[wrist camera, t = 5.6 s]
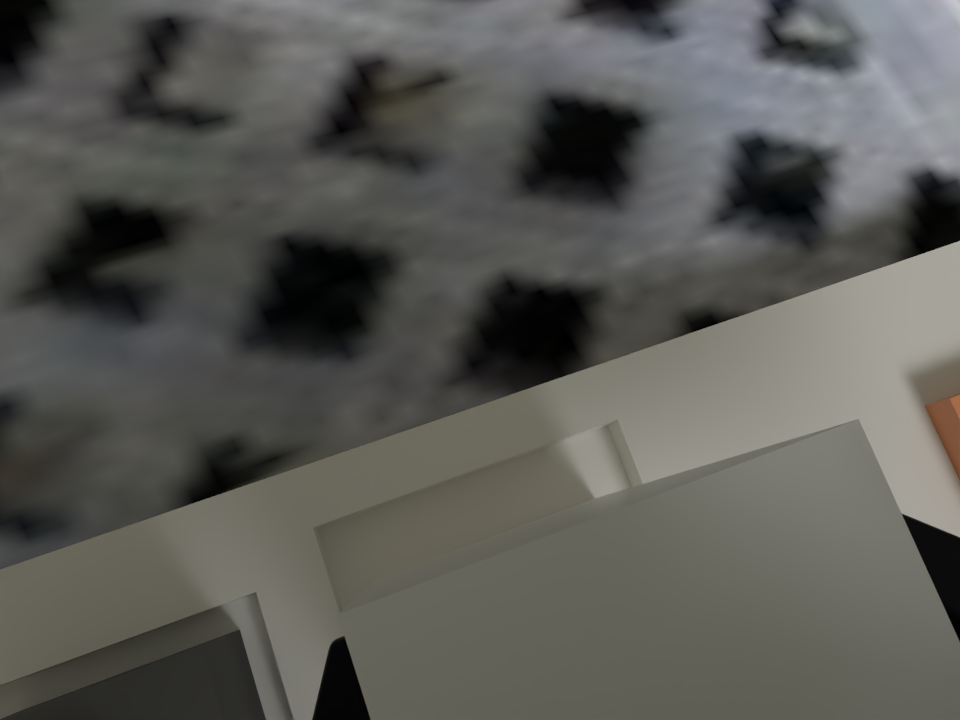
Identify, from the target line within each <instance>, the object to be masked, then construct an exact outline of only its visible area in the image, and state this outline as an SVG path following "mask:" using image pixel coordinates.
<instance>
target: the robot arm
mask: <svg viewBox="0 0 960 720" xmlns="http://www.w3.org/2000/svg"><path fill="white" fill-rule="evenodd" d="M902 516H903V518H904V520H905V522H906V524H907V527H908V529H909V531H910V533H911V536H912V538H913V540H914V542H915V544H916V547H917V549H918V551H919V553H920V555H921V558H922V560H923V562H924V564H925V566H926V569H927V571H928V573H929V575H930V577H931V580H932V582H933V584H934V586H935V588H936V591H937V593H938V595H939V597H940V599H941V602H942V604H943V606H944V608H945V610H946V613H947V615H948V617H949V619H950V621H951V624H952V626H953V628H954V630H955V632H956V635H957V637H958V639H959V641H960V537H958V536H956V535H953V534H951V533H948V532H946V531H944V530H941V529H939V528H936V527H934V526H931V525H929V524H926V523H924V522H922V521H919V520H917V519H914V518H912V517H909V516H907V515H904V514H902ZM312 720H371V719H370V716H369V713H368V709H367V706H366V703H365V700H364V697H363V693H362V690H361V687H360V684H359V681H358V677H357V674H356V671H355V668H354V665H353V662H352V658H351V655H350V652H349V649H348V646H347V642H346V639H345V636H342V637H339V638H337V639H335V640H334V641H333V642H332V643H331V645H330V647H329V650H328V654H327V658H326V663H325V667H324V671H323V675H322V680H321V684H320V688H319V692H318V697H317V701H316V705H315V709H314V714H313V718H312Z"/></svg>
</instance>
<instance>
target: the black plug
mask: <svg viewBox="0 0 960 720" xmlns="http://www.w3.org/2000/svg"><path fill="white" fill-rule="evenodd" d="M0 720H266V718H265V715H264V711H263V708H262V704H261V701H260V697H259V694H258V690H257V687H256V684H255V680H254V677H253V673H252V670H251V666H250V663H249V659H248V656H247V653H246V649H245V646H244V642H243V639H242V635H241V632H240V630H237V631H234V632H231V633H229V634H226V635H223V636H221V637H218V638H215V639H213V640H210V641H207V642H204V643H202V644H199V645H196V646H194V647H191V648H188V649H186V650H183V651H180V652H177V653H175V654H172V655H169V656H167V657H164V658H161V659H159V660H156V661H153V662H151V663H148V664H145V665H142V666H140V667H137V668H134V669H132V670H129V671H126V672H124V673H121V674H118V675H115V676H113V677H110V678H107V679H105V680H102V681H99V682H97V683H94V684H91V685H89V686H86V687H83V688H80V689H78V690H75V691H72V692H70V693H67V694H64V695H62V696H59V697H56V698H53V699H51V700H48V701H45V702H43V703H40V704H37V705H35V706H32V707H29V708H26V709H24V710H21V711H19V712H16V713H14V714H11V715H9V716H6V717H4V718H1V719H0Z"/></svg>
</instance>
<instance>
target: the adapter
mask: <svg viewBox="0 0 960 720" xmlns="http://www.w3.org/2000/svg"><path fill="white" fill-rule="evenodd" d="M338 617H339V620H340V623H341V627H342V630H343V633H344V636H345V639H346V642H347V646H348V649H349V652H350V655H351V658H352V662H353V665H354V668H355V671H356V674H357V677H358V681H359V684H360V687H361V690H362V693H363V697H364V700H365V703H366V706H367V709H368V713H369V716H370V719H371V720H960V641H959V639H958V637H957V635H956V632H955V630H954V628H953V626H952V624H951V621H950V619H949V617H948V615H947V613H946V610H945V608H944V606H943V604H942V602H941V599H940V597H939V595H938V593H937V591H936V588H935V586H934V584H933V582H932V580H931V577H930V575H929V573H928V571H927V569H926V566H925V564H924V562H923V560H922V558H921V555H920V553H919V551H918V549H917V547H916V544H915V542H914V540H913V538H912V536H911V533H910V531H909V529H908V527H907V524H906V522H905V520H904V518H903V516H902V513H901V511H900V509H899V507H898V505H897V502H896V500H895V498H894V496H893V494H892V491H891V489H890V487H889V485H888V483H887V480H886V478H885V476H884V474H883V472H882V469H881V467H880V465H879V463H878V461H877V458H876V456H875V454H874V452H873V450H872V447H871V445H870V443H869V441H868V439H867V436H866V434H865V432H864V430H863V428H862V425H861V423H860V421H859V419H857V420H854V421H851V422H847V423H844V424H841V425H837V426H834V427H831V428H827V429H824V430H821V431H817V432H814V433H811V434H807V435H804V436H801V437H797V438H794V439H791V440H787V441H784V442H781V443H777V444H774V445H771V446H767V447H764V448H761V449H757V450H754V451H751V452H747V453H744V454H741V455H737V456H734V457H731V458H727V459H724V460H721V461H717V462H714V463H711V464H707V465H704V466H701V467H697V468H694V469H691V470H687V471H684V472H681V473H677V474H674V475H671V476H667V477H664V478H661V479H657V480H654V481H651V482H647V483H644V484H641V485H637V486H634V487H631V488H627V489H624V490H621V491H617V492H614V493H611V494H607V495H604V496H601V497H597V498H594V499H592V500H589V501H586V502H583V503H581V504H578V505H575V506H573V507H570V508H567V509H565V510H562V511H559V512H556V513H554V514H551V515H548V516H546V517H543V518H540V519H538V520H535V521H532V522H530V523H527V524H524V525H521V526H519V527H516V528H513V529H511V530H508V531H505V532H503V533H500V534H497V535H494V536H492V537H489V538H486V539H484V540H481V541H478V542H476V543H473V544H470V545H468V546H465V547H462V548H459V549H457V550H454V551H451V552H449V553H446V554H443V555H441V556H438V557H435V558H432V559H430V560H427V561H424V562H422V563H419V564H416V565H414V566H411V567H408V568H405V569H403V570H400V571H397V572H395V573H392V574H389V575H387V576H384V577H381V578H379V579H377V580H376V581H375V582H373V583H372V584H371V585H370V586H369V587H368V588H367V589H366V590H365V591H363V592H362V593H361V594H360V595H359V596H358V597H357V598H356V599H354V600H353V601H352V602H351V603H350V604H349V605H348V606H347V607H346V608H344V609H343V610H342V611H341V612H340V613H339V614H338Z"/></svg>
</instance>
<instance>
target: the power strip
mask: <svg viewBox="0 0 960 720" xmlns="http://www.w3.org/2000/svg"><path fill="white" fill-rule="evenodd" d="M857 419H859V421H860V423H861V425H862V428H863V430H864V432H865V434H866V436H867V439H868V441H869V443H870V445H871V447H872V450H873V452H874V454H875V456H876V458H877V461H878V463H879V465H880V467H881V469H882V472H883V474H884V476H885V478H886V480H887V483H888V485H889V487H890V489H891V491H892V494H893V496H894V498H895V500H896V502H897V505H898V507H899V509H900V511H901V513H902V514H904V515H907V516H909V517H912V518H914V519H917V520H919V521H922V522H924V523H926V524H929V525H931V526H934V527H936V528H939V529H941V530H944V531H946V532H948V533H951V534H953V535H956V536H958V537H960V241H958V242H955V243H952V244H949V245H946V246H944V247H941V248H938V249H935V250H932V251H929V252H926V253H923V254H920V255H917V256H914V257H911V258H908V259H906V260H903V261H900V262H897V263H894V264H891V265H888V266H885V267H882V268H879V269H876V270H873V271H870V272H868V273H865V274H862V275H859V276H856V277H853V278H850V279H847V280H844V281H841V282H838V283H835V284H833V285H830V286H827V287H824V288H821V289H818V290H815V291H812V292H809V293H806V294H803V295H800V296H797V297H795V298H792V299H789V300H786V301H783V302H780V303H777V304H774V305H771V306H768V307H765V308H762V309H759V310H757V311H754V312H751V313H748V314H745V315H742V316H739V317H736V318H733V319H730V320H727V321H724V322H722V323H719V324H716V325H713V326H710V327H707V328H704V329H701V330H698V331H695V332H692V333H689V334H686V335H684V336H681V337H678V338H675V339H672V340H669V341H666V342H663V343H660V344H657V345H654V346H651V347H648V348H646V349H643V350H640V351H637V352H634V353H631V354H628V355H625V356H622V357H619V358H616V359H613V360H611V361H608V362H605V363H602V364H599V365H596V366H593V367H590V368H587V369H584V370H581V371H578V372H575V373H573V374H570V375H567V376H564V377H561V378H558V379H555V380H552V381H549V382H546V383H543V384H540V385H537V386H535V387H532V388H529V389H526V390H523V391H520V392H517V393H514V394H511V395H508V396H505V397H502V398H499V399H497V400H494V401H491V402H488V403H485V404H482V405H479V406H476V407H473V408H470V409H467V410H464V411H462V412H459V413H456V414H453V415H450V416H447V417H444V418H441V419H438V420H435V421H432V422H429V423H426V424H424V425H421V426H418V427H415V428H412V429H409V430H406V431H403V432H400V433H397V434H394V435H391V436H388V437H386V438H383V439H380V440H377V441H374V442H371V443H368V444H365V445H362V446H359V447H356V448H353V449H351V450H348V451H345V452H342V453H339V454H336V455H333V456H330V457H327V458H324V459H321V460H318V461H315V462H313V463H310V464H307V465H304V466H301V467H298V468H295V469H292V470H289V471H286V472H283V473H280V474H277V475H275V476H272V477H269V478H266V479H263V480H260V481H257V482H254V483H251V484H248V485H245V486H242V487H240V488H237V489H234V490H231V491H228V492H225V493H222V494H219V495H216V496H213V497H210V498H207V499H204V500H202V501H199V502H196V503H193V504H190V505H187V506H184V507H181V508H178V509H175V510H172V511H169V512H166V513H164V514H161V515H158V516H155V517H152V518H149V519H146V520H143V521H140V522H137V523H134V524H131V525H128V526H126V527H123V528H120V529H117V530H114V531H111V532H108V533H105V534H102V535H99V536H96V537H93V538H91V539H88V540H85V541H82V542H79V543H76V544H73V545H70V546H67V547H64V548H61V549H58V550H55V551H53V552H50V553H47V554H44V555H41V556H38V557H35V558H32V559H29V560H26V561H23V562H20V563H17V564H15V565H12V566H9V567H6V568H3V569H0V719H1V718H4V717H6V716H9V715H11V714H14V713H16V712H19V711H21V710H24V709H26V708H29V707H32V706H35V705H37V704H40V703H43V702H45V701H48V700H51V699H53V698H56V697H59V696H62V695H64V694H67V693H70V692H72V691H75V690H78V689H80V688H83V687H86V686H89V685H91V684H94V683H97V682H99V681H102V680H105V679H107V678H110V677H113V676H115V675H118V674H121V673H124V672H126V671H129V670H132V669H134V668H137V667H140V666H142V665H145V664H148V663H151V662H153V661H156V660H159V659H161V658H164V657H167V656H169V655H172V654H175V653H177V652H180V651H183V650H186V649H188V648H191V647H194V646H196V645H199V644H202V643H204V642H207V641H210V640H213V639H215V638H218V637H221V636H223V635H226V634H229V633H231V632H234V631H237V630H240V632H241V635H242V639H243V642H244V646H245V649H246V653H247V656H248V659H249V663H250V666H251V670H252V673H253V677H254V680H255V684H256V687H257V690H258V694H259V697H260V701H261V704H262V708H263V711H264V715H265V718H266V720H312V718H313V714H314V709H315V705H316V701H317V697H318V692H319V688H320V684H321V680H322V675H323V671H324V667H325V663H326V658H327V654H328V650H329V647H330V645H331V643H332V642H333V641H334V640H335V639H337V638H339V637H342V636H344V633H343V630H342V627H341V623H340V620H339V617H338V614H339V613H340V612H341V611H342V610H343V609H344V608H346V607H347V606H348V605H349V604H350V603H351V602H352V601H353V600H354V599H356V598H357V597H358V596H359V595H360V594H361V593H362V592H363V591H365V590H366V589H367V588H368V587H369V586H370V585H371V584H372V583H373V582H375V581H376V580H377V579H379V578H381V577H384V576H387V575H389V574H392V573H395V572H397V571H400V570H403V569H405V568H408V567H411V566H414V565H416V564H419V563H422V562H424V561H427V560H430V559H432V558H435V557H438V556H441V555H443V554H446V553H449V552H451V551H454V550H457V549H459V548H462V547H465V546H468V545H470V544H473V543H476V542H478V541H481V540H484V539H486V538H489V537H492V536H494V535H497V534H500V533H503V532H505V531H508V530H511V529H513V528H516V527H519V526H521V525H524V524H527V523H530V522H532V521H535V520H538V519H540V518H543V517H546V516H548V515H551V514H554V513H556V512H559V511H562V510H565V509H567V508H570V507H573V506H575V505H578V504H581V503H583V502H586V501H589V500H592V499H594V498H597V497H601V496H604V495H607V494H611V493H614V492H617V491H621V490H624V489H627V488H631V487H634V486H637V485H641V484H644V483H647V482H651V481H654V480H657V479H661V478H664V477H667V476H671V475H674V474H677V473H681V472H684V471H687V470H691V469H694V468H697V467H701V466H704V465H707V464H711V463H714V462H717V461H721V460H724V459H727V458H731V457H734V456H737V455H741V454H744V453H747V452H751V451H754V450H757V449H761V448H764V447H767V446H771V445H774V444H777V443H781V442H784V441H787V440H791V439H794V438H797V437H801V436H804V435H807V434H811V433H814V432H817V431H821V430H824V429H827V428H831V427H834V426H837V425H841V424H844V423H847V422H851V421H854V420H857Z"/></svg>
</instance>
